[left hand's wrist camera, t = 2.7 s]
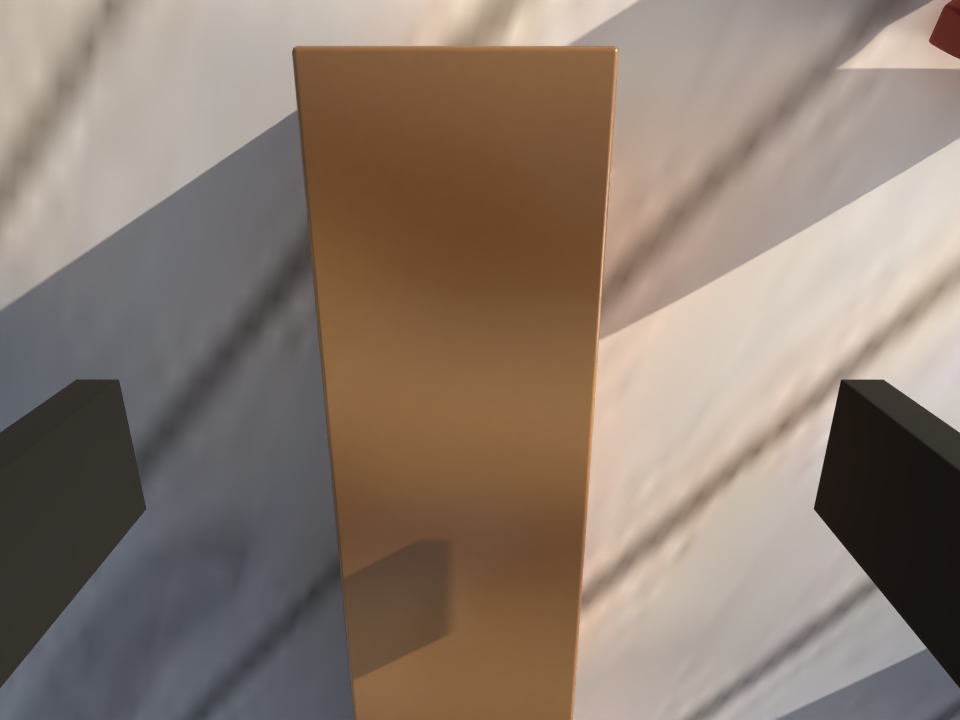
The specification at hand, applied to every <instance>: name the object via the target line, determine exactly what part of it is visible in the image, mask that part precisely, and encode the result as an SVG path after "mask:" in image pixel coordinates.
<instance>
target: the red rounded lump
mask: <svg viewBox="0 0 960 720" xmlns="http://www.w3.org/2000/svg"><path fill="white" fill-rule="evenodd" d="M929 42H930V43H931V44H932V45H934V46H936V47H937V48H939V49H941V50H943V51H945V52H946V53H948V54H950V55H952V56H954V57H957V58H959V59H960V0H952V1H950V2H949V3H948V4H947V5H946V6H945V7H944V8H943V10H942V13H941V15H940V17H939V19H938V22H937V24H936V26H935V28H934V31H933V33H932V35H931V37H930V40H929Z"/></svg>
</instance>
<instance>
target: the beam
mask: <svg viewBox="0 0 960 720" xmlns="http://www.w3.org/2000/svg"><path fill="white" fill-rule="evenodd" d="M618 53H619V52H618V49H617V48H616V47H614V46H296V47H294V48H293V51H292V56H293V67H294V78H295V88H296V99H297V110H298V121H299V132H300V142H301V153H302V164H303V175H304V185H305V196H306V207H307V218H308V228H309V239H310V250H311V261H312V272H313V282H314V293H315V304H316V315H317V325H318V336H319V347H320V358H321V368H322V379H323V390H324V401H325V412H326V422H327V433H328V444H329V455H330V465H331V476H332V487H333V498H334V509H335V519H336V530H337V541H338V552H339V562H340V573H341V584H342V595H343V605H344V616H345V627H346V638H347V649H348V659H349V670H350V681H351V692H352V702H353V713H354V720H573V710H574V696H575V681H576V667H577V652H578V637H579V623H580V608H581V594H582V579H583V564H584V550H585V535H586V521H587V506H588V491H589V477H590V462H591V448H592V433H593V418H594V404H595V389H596V374H597V360H598V345H599V331H600V316H601V301H602V287H603V272H604V258H605V243H606V228H607V214H608V199H609V185H610V170H611V155H612V141H613V126H614V111H615V97H616V82H617V68H618Z"/></svg>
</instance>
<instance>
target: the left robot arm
mask: <svg viewBox="0 0 960 720" xmlns="http://www.w3.org/2000/svg"><path fill="white" fill-rule="evenodd" d="M145 510H146V506H145V501H144V496H143V492H142V487H141V482H140V478H139V473H138V468H137V463H136V459H135V454H134V449H133V444H132V440H131V435H130V430H129V425H128V421H127V416H126V411H125V407H124V402H123V397H122V392H121V388H120V383H119V380H75V381H74V382H73V383H71V384H70V385H68V386H67V387H65V388H64V389H63V390H61V391H60V392H58V393H57V394H55V395H54V396H52V397H51V398H50V399H48V400H47V401H45V402H44V403H42V404H41V405H40V406H38V407H37V408H35V409H34V410H32V411H31V412H29V413H28V414H27V415H25V416H24V417H22V418H21V419H19V420H18V421H17V422H15V423H14V424H12V425H11V426H9V427H8V428H6V429H5V430H4V431H2V432H1V433H0V688H1V686H2V685H3V684H4V683H5V681H6V680H7V679H8V678H9V677H10V675H11V674H12V673H13V672H14V670H15V669H16V668H17V667H18V666H19V664H20V663H21V662H22V661H23V659H24V658H25V657H26V656H27V654H28V653H29V652H30V651H31V650H32V648H33V647H34V646H35V645H36V643H37V642H38V641H39V640H40V639H41V637H42V636H43V635H44V634H45V632H46V631H47V630H48V629H49V628H50V626H51V625H52V624H53V623H54V621H55V620H56V619H57V618H58V616H59V615H60V614H61V613H62V612H63V610H64V609H65V608H66V607H67V605H68V604H69V603H70V602H71V601H72V599H73V598H74V597H75V596H76V594H77V593H78V592H79V591H80V589H81V588H82V587H83V586H84V585H85V583H86V582H87V581H88V580H89V578H90V577H91V576H92V575H93V574H94V572H95V571H96V570H97V569H98V567H99V566H100V565H101V564H102V562H103V561H104V560H105V559H106V558H107V556H108V555H109V554H110V553H111V551H112V550H113V549H114V548H115V547H116V545H117V544H118V543H119V542H120V540H121V539H122V538H123V537H124V535H125V534H126V533H127V532H128V531H129V529H130V528H131V527H132V526H133V524H134V523H135V522H136V521H137V520H138V518H139V517H140V516H141V515H142V513H143V512H144V511H145ZM814 510H815V511H816V512H817V513H818V515H819V516H820V517H821V518H822V520H823V521H824V522H825V523H826V524H827V526H828V527H829V528H830V529H831V531H832V532H833V533H834V534H835V535H836V537H837V538H838V539H839V540H840V542H841V543H842V544H843V545H844V547H845V548H846V549H847V550H848V551H849V553H850V554H851V555H852V556H853V558H854V559H855V560H856V561H857V562H858V564H859V565H860V566H861V567H862V569H863V570H864V571H865V572H866V574H867V575H868V576H869V577H870V578H871V580H872V581H873V582H874V583H875V585H876V586H877V587H878V588H879V589H880V591H881V592H882V593H883V594H884V596H885V597H886V598H887V599H888V601H889V602H890V603H891V604H892V605H893V607H894V608H895V609H896V610H897V612H898V613H899V614H900V615H901V616H902V618H903V619H904V620H905V621H906V623H907V624H908V625H909V626H910V628H911V629H912V630H913V631H914V632H915V634H916V635H917V636H918V637H919V639H920V640H921V641H922V642H923V643H924V645H925V646H926V647H927V648H928V650H929V651H930V652H931V653H932V654H933V656H934V657H935V658H936V659H937V661H938V662H939V663H940V664H941V666H942V667H943V668H944V669H945V670H946V672H947V673H948V674H949V675H950V677H951V678H952V679H953V680H954V681H955V683H956V684H957V685H958V686H959V688H960V433H959V432H958V431H956V430H955V429H954V428H952V427H951V426H949V425H948V424H946V423H945V422H943V421H942V420H941V419H939V418H938V417H936V416H935V415H933V414H932V413H931V412H929V411H928V410H926V409H925V408H923V407H922V406H920V405H919V404H918V403H916V402H915V401H913V400H912V399H910V398H909V397H908V396H906V395H905V394H903V393H902V392H900V391H899V390H897V389H896V388H895V387H893V386H892V385H890V384H889V383H887V382H886V381H885V380H841V383H840V388H839V392H838V397H837V402H836V407H835V411H834V416H833V421H832V425H831V430H830V435H829V440H828V444H827V449H826V454H825V459H824V463H823V468H822V473H821V478H820V482H819V487H818V492H817V496H816V501H815V506H814Z"/></svg>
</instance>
